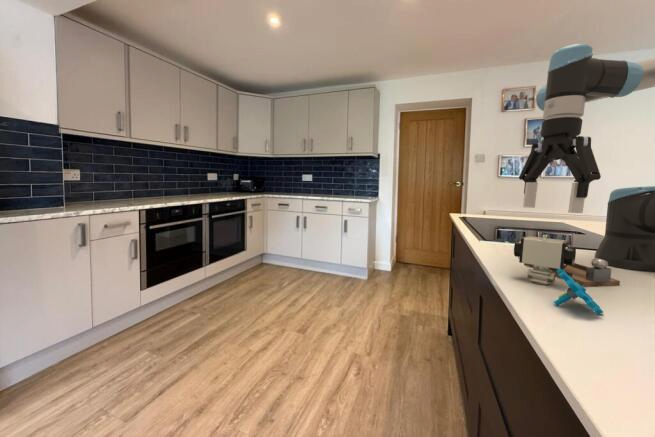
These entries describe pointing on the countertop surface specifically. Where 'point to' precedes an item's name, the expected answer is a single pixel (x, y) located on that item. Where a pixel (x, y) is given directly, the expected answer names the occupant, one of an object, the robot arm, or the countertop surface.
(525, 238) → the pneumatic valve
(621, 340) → the countertop surface
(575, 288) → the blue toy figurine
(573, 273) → the brown wooden board
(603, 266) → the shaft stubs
